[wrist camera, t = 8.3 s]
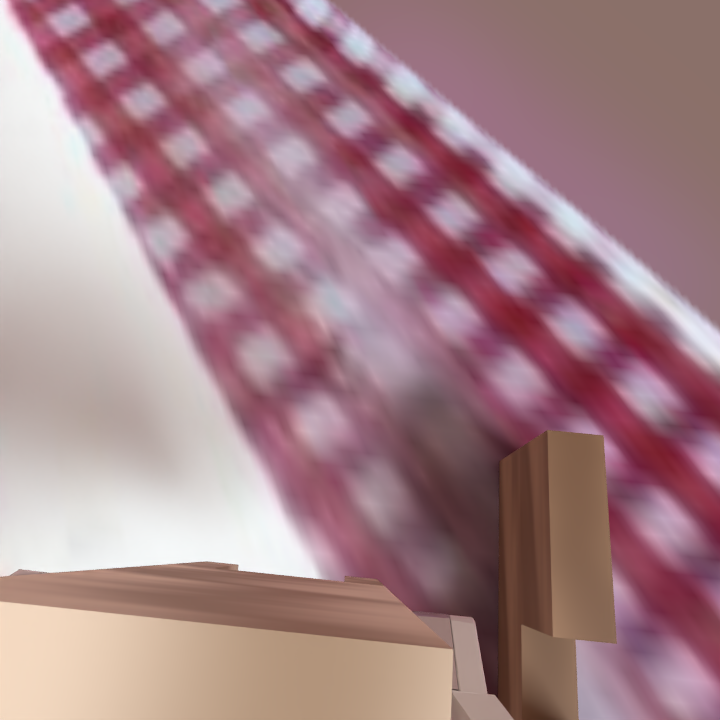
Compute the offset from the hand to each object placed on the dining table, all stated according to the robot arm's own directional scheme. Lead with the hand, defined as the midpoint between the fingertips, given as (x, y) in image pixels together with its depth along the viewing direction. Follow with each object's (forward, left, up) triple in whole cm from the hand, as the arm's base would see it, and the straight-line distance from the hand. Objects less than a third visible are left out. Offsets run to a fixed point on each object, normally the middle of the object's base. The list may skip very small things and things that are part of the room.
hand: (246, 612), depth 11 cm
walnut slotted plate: (+11, -3, -18) cm, 21 cm away
